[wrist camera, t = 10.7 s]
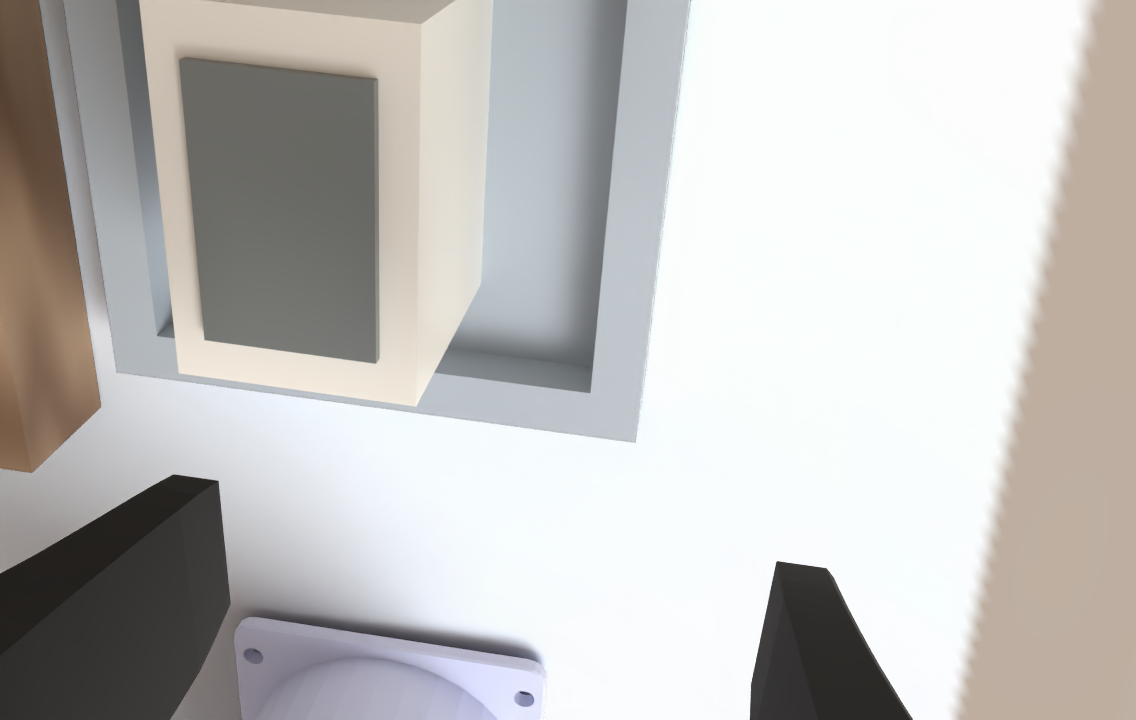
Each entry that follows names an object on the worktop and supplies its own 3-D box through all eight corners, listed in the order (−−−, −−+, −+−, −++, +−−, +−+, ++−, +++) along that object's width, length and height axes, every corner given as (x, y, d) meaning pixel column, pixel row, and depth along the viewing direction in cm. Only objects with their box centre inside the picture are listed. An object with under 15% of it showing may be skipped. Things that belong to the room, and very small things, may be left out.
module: (480, 284, 22) (413, 413, 17) (289, 259, 22) (173, 379, 17) (494, -28, 19) (417, 27, 14) (275, -51, 19) (131, -5, 15)
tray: (641, 403, 23) (635, 442, 22) (153, 339, 24) (116, 372, 23) (710, -166, 18) (708, -163, 16) (84, -220, 19) (31, -221, 17)
